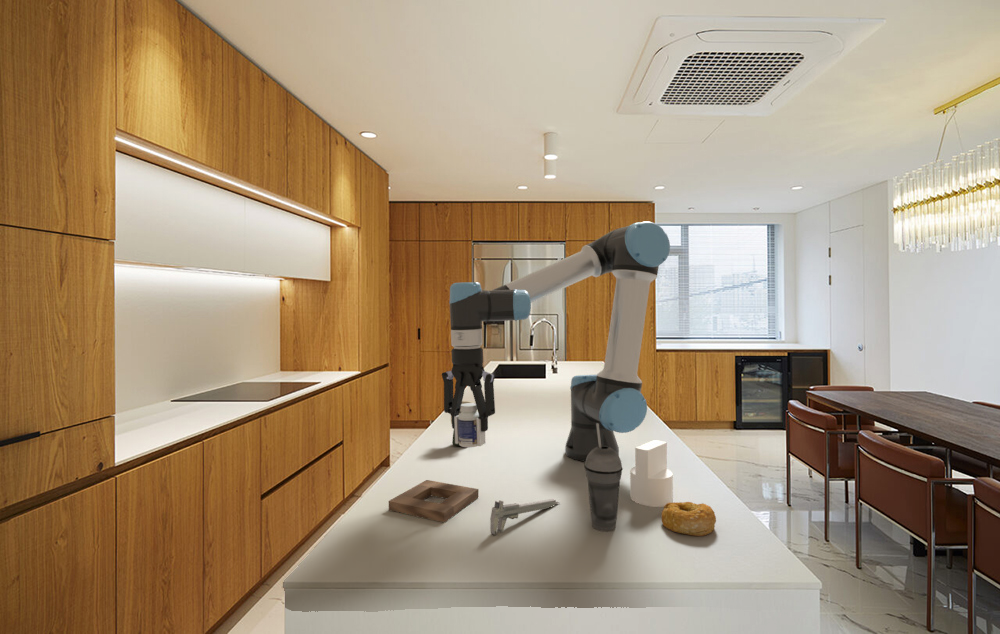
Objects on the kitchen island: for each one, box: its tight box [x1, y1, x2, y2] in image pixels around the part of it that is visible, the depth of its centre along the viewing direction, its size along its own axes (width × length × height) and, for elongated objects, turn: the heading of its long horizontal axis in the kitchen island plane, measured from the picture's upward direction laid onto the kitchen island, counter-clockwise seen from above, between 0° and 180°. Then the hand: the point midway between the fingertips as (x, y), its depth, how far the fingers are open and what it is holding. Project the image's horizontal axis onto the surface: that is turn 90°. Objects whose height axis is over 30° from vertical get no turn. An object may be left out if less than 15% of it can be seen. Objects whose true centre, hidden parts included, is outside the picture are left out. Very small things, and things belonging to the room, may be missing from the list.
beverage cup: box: [584, 423, 624, 532], centre depth 97 cm, size 7×7×20 cm
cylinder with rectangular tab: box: [629, 439, 674, 508], centre depth 110 cm, size 9×9×12 cm
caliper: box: [489, 498, 560, 536], centre depth 101 cm, size 20×1×6 cm, turn 137°
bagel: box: [661, 501, 717, 537], centre depth 97 cm, size 10×11×5 cm
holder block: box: [388, 479, 479, 523], centre depth 109 cm, size 14×14×2 cm
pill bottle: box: [458, 402, 479, 448], centre depth 120 cm, size 5×5×10 cm
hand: (470, 443), depth 120 cm, fingers closed on pill bottle, 5 cm apart
